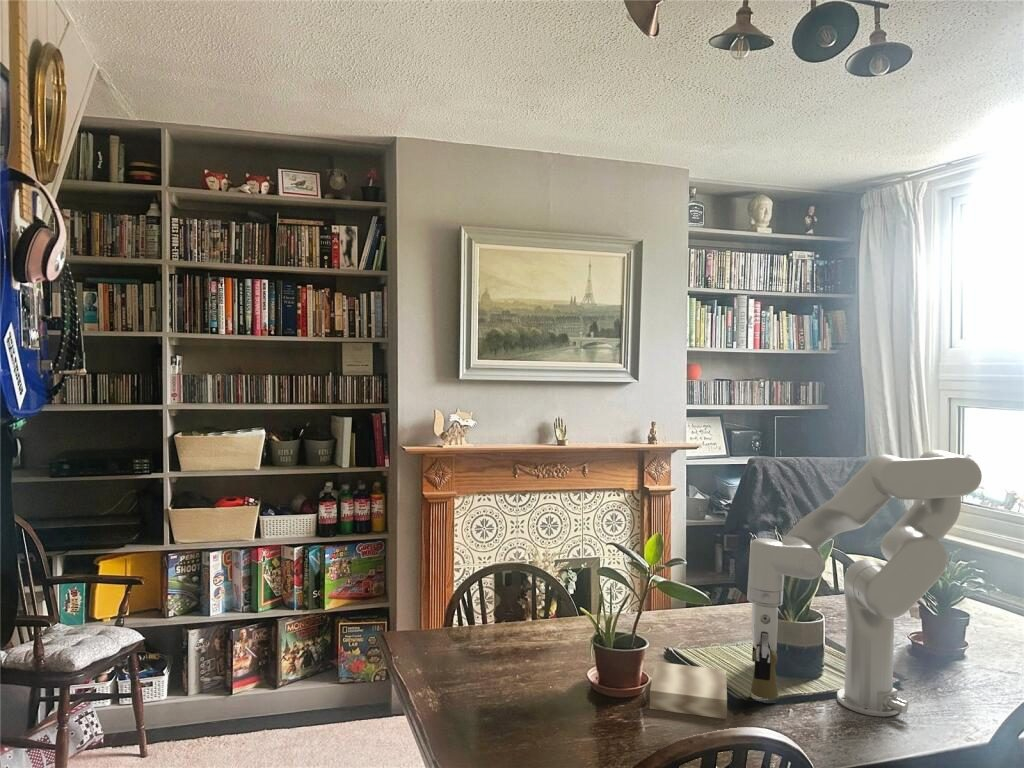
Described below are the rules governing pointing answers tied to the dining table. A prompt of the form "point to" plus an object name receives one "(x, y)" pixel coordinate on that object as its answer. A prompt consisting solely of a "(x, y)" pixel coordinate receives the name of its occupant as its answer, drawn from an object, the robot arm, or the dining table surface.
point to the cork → (763, 686)
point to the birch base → (689, 690)
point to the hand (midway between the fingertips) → (760, 670)
